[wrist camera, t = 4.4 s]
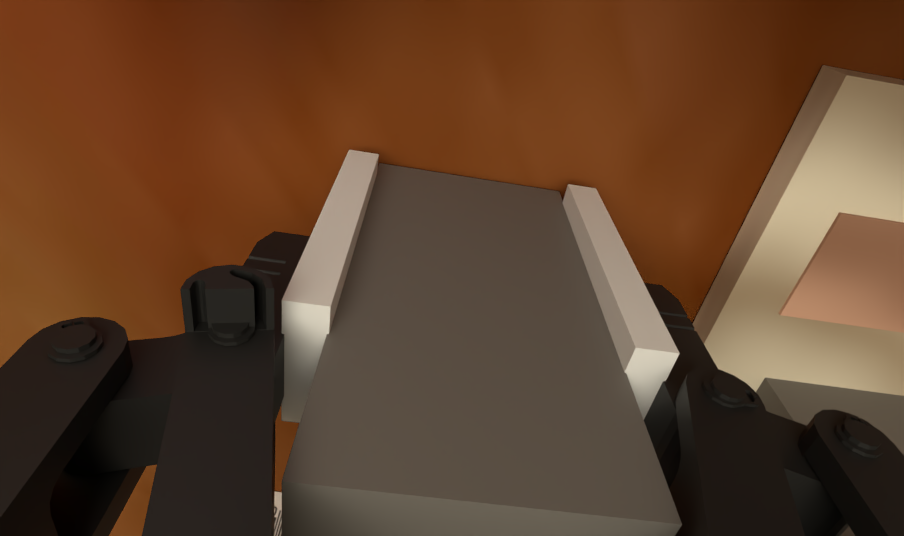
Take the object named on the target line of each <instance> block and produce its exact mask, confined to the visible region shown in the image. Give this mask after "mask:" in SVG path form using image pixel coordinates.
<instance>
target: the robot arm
mask: <svg viewBox="0 0 904 536" xmlns="http://www.w3.org/2000/svg"><path fill="white" fill-rule="evenodd" d="M378 158H379V154H374V153H368V152H361V151H355V150H349V151H348V153H347V156H346V158H345V160H344V162H343V165H342V167H341V169H340V171H339V173H338V176H337V178H336V180H335V182H334V185H333V187H332V189H331V191H330V194H329V196H328V198H327V200H326V202H325V205H324V207H323V209H322V211H321V214H320V216H319V218H318V220H317V223H316V225H315V227H314V229H313V231H312V234H311V236H303V235H296V234H289V233H282V232H275V231H274V232H273V233H271V234H269V235H268V236H266V237H265V238H263V239H261V240H260V241H258V242H257V243H256V245H255V247H254V248H253V250H252V252H251V253H250V255H249V259H247V260H246V262H245V263H244V265H243V266H238V265H225V266H215V267H211V268H208V269H205V270H202V271H199V272H197V273H196V274H194V275H193V276H191V277H190V278H188V279H187V280H186V281H185V283H184V284H183V286H182V288H181V298H182V307H183V315H184V324H185V333H183V334H180V335H176V336H171V337H164V338H155V339H144V340H132V341H128V338H127V334H126V331H125V329H124V328H123V327H122V326H120V325H119V324H118V323H116V322H115V321H111V320H108V319H104V318H100V317H80V318H75V319H70V320H65V321H61V322H58V323H56V324H53V325H51V326H49V327H46V328H44V329H42V330H41V331H39V332H38V333H36V334H35V335H34V336H32V337H31V338H30V339H28V340H27V341H26V342H25V343H24V344H23V345H22V346H21V347H20V348H19V349H18V350H17V352H16V353H15V354H14V355H13V356H12V357H11V358H10V359H9V360H8V361H7V362H6V363H5V364H4V365H3V366H2V367H1V368H0V536H109V534H110V532H111V531H112V529H113V527H114V525H115V523H116V521H117V519H118V518H119V516H120V514H121V512H122V510H123V508H124V506H125V505H126V503H127V501H128V499H129V497H130V495H131V494H132V492H133V490H134V488H135V486H136V484H137V482H138V481H139V479H140V477H141V475H142V473H143V471H144V470H145V468H146V466H150V465H156V464H157V468H156V472H155V477H154V482H153V486H152V491H151V496H150V500H149V505H148V510H147V514H146V519H145V524H144V528H143V533H142V536H274V495H275V420H276V417H277V415H278V412H279V409H280V406H281V403H282V421H289V422H297V423H300V420H301V417H302V414H303V410H304V407H305V404H306V401H307V397H308V394H309V391H310V388H311V384H312V381H313V378H314V374H315V371H316V368H317V365H318V361H319V358H320V355H321V352H322V348H323V345H324V342H325V339H326V335H327V334H329V332H330V329H331V326H332V322H333V319H334V316H335V312H336V309H337V306H338V302H339V299H340V296H341V292H342V289H343V286H344V282H345V279H346V276H347V272H348V269H349V266H350V262H351V259H352V256H353V252H354V249H355V246H356V242H357V239H358V236H359V232H360V229H361V225H362V222H363V219H364V215H365V212H366V209H367V205H368V202H369V199H370V195H371V192H372V189H373V185H374V182H375V179H376V175H377V168H378ZM563 206H564V209H565V211H566V214H567V217H568V220H569V222H570V225H571V228H572V230H573V233H574V236H575V239H576V241H577V244H578V247H579V250H580V252H581V255H582V258H583V261H584V263H585V266H586V269H587V271H588V274H589V277H590V280H591V282H592V285H593V288H594V291H595V293H596V296H597V299H598V302H599V304H600V307H601V310H602V312H603V315H604V318H605V321H606V323H607V326H608V329H609V332H610V334H611V337H612V340H613V343H614V345H615V348H616V351H617V353H618V356H619V359H620V362H621V364H622V367H623V370H624V373H626V374H627V376H628V379H629V382H630V385H631V387H632V390H633V393H634V395H635V398H636V401H637V403H638V406H639V409H640V412H641V414H642V417H643V420H644V422H645V425H646V428H647V431H648V433H649V436H650V439H651V441H652V444H653V447H654V450H655V452H656V455H657V458H658V460H659V463H660V466H661V469H662V471H663V474H664V477H665V479H666V482H667V485H668V487H669V490H670V493H671V496H672V498H673V501H674V504H675V506H676V509H677V512H678V515H679V517H680V520H681V523H682V526H681V527H680V529H679V530H678V532H677V533H676V535H675V536H841V534H842V533H843V532H844V531H845V530H846V529H847V528H848V527H850V528H851V530H852V531H853V533H854V535H855V536H904V455H903V454H902V453H901V452H900V450H899V449H898V448H897V447H896V445H895V444H894V443H893V442H892V441H891V440H890V439H889V438H888V437H887V436H886V435H885V434H884V433H883V432H881V431H880V430H878V429H877V428H875V427H874V426H872V425H871V424H870V423H869V422H867V421H865V420H864V419H862V418H858V417H857V416H855V415H852V414H850V413H846V412H842V411H839V410H835V409H833V410H821V411H820V412H818V413H817V414H815V415H814V417H813V418H812V420H811V421H810V422H809V424H808V425H804V424H801V423H798V422H795V421H792V420H790V419H787V418H784V417H781V416H778V415H776V414H773V413H770V412H768V411H766V409H765V406H764V404H763V402H762V400H761V399H760V397H759V395H758V394H757V393H756V392H755V391H754V390H753V389H752V388H751V387H750V386H749V385H748V384H747V383H745V382H744V381H742V380H740V379H739V378H737V377H736V376H734V375H732V374H729V373H727V372H724V371H722V370H719V369H718V368H717V366H716V364H715V363H714V361H713V359H712V357H711V356H710V354H709V352H708V350H707V349H706V347H705V345H704V343H703V342H702V340H701V338H700V337H699V335H698V333H697V331H694V326H693V324H692V323H691V321H690V319H689V318H687V314H686V312H685V310H684V309H683V307H682V305H681V303H680V302H679V300H678V299H677V298H676V297H674V296H673V295H672V294H671V293H670V292H669V291H668V290H667V289H666V288H664V287H663V286H662V285H655V284H648V283H644V282H643V280H642V278H641V276H640V274H639V272H638V270H637V269H636V267H635V265H634V263H633V261H632V259H631V257H630V255H629V253H628V251H627V249H626V247H625V245H624V243H623V241H622V239H621V237H620V235H619V233H618V231H617V229H616V227H615V225H614V223H613V221H612V219H611V217H610V215H609V213H608V211H607V209H606V207H605V205H604V203H603V202H602V200H601V198H600V196H599V194H598V192H597V190H596V188H590V187H584V186H578V185H571V184H568V186H567V189H566V193H565V196H564V199H563Z"/></svg>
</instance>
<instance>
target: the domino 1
mask: <svg viewBox="0 0 904 536" xmlns="http://www.w3.org/2000/svg"><path fill="white" fill-rule="evenodd" d="M681 526H682V523H681V520H680V517H679V515H678V512H677V509H676V506H675V504H674V501H673V498H672V496H671V493H670V490H669V487H668V485H667V482H666V479H665V477H664V474H663V471H662V469H661V466H660V463H659V460H658V458H657V455H656V452H655V450H654V447H653V444H652V441H651V439H650V436H649V433H648V431H647V428H646V425H645V422H644V420H643V417H642V414H641V412H640V409H639V406H638V403H637V401H636V398H635V395H634V393H633V390H632V387H631V385H630V382H629V379H628V376H627V374H626V373H624V370H623V367H622V364H621V362H620V359H619V356H618V353H617V351H616V348H615V345H614V343H613V340H612V337H611V334H610V332H609V329H608V326H607V323H606V321H605V318H604V315H603V312H602V310H601V307H600V304H599V302H598V299H597V296H596V293H595V291H594V288H593V285H592V282H591V280H590V277H589V274H588V271H587V269H586V266H585V263H584V261H583V258H582V255H581V252H580V250H579V247H578V244H577V241H576V239H575V236H574V233H573V230H572V228H571V225H570V222H569V220H568V217H567V214H566V211H565V209H564V206H563V200H562V198H561V195H560V192H559V191H554V190H548V189H541V188H535V187H528V186H522V185H516V184H509V183H503V182H497V181H490V180H484V179H477V178H471V177H465V176H458V175H452V174H445V173H439V172H433V171H426V170H420V169H413V168H407V167H401V166H394V165H388V164H382V163H379V166H378V169H377V175H376V179H375V182H374V185H373V189H372V192H371V195H370V199H369V202H368V205H367V209H366V212H365V215H364V219H363V222H362V225H361V229H360V232H359V236H358V239H357V242H356V246H355V249H354V252H353V256H352V259H351V262H350V266H349V269H348V272H347V276H346V279H345V282H344V286H343V289H342V292H341V296H340V299H339V302H338V306H337V309H336V312H335V316H334V319H333V322H332V326H331V329H330V332H329V334H327V335H326V339H325V342H324V345H323V348H322V352H321V355H320V358H319V361H318V365H317V368H316V371H315V374H314V378H313V381H312V384H311V388H310V391H309V394H308V397H307V401H306V404H305V407H304V410H303V414H302V417H301V420H300V423H299V427H298V430H297V433H296V436H295V440H294V443H293V446H292V449H291V453H290V456H289V459H288V463H287V466H286V469H285V472H284V476H283V479H282V536H675V535H676V533H677V532H678V530H679V529H680V527H681Z"/></svg>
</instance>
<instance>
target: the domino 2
mask: <svg viewBox="0 0 904 536" xmlns="http://www.w3.org/2000/svg"><path fill="white" fill-rule="evenodd" d="M756 393H757V394H758V395H759V397H760V399H761V400H762V402H763V404H764V406H765V409H766V411H768V412H770V413H773V414H776V415H778V416H781V417H784V418H787V419H790V420H792V421H795V422H798V423H801V424H804V425H808V424H809V422H810V421H811V420H812V418H813V417H814V415H815V414H817V413H818V412H820V411H821V410H833V409H835V410H839V411H842V412H846V413H850V414H852V415H855V416H857V417H858V418H862V419H864V420H865V421H867V422H869V423H870V424H871V425H872V426H874V427H875V428H877V429H878V430H880V431H881V432H883V433H884V434H885V435H886V436H887V437H888V438H889V439H890V440H891V441H892V442H893V443H894V444H895V445H896V447H897V448H898V449H899V450H900V452H901V453H902V454H903V455H904V396H901V395H893V394H886V393H878V392H871V391H863V390H856V389H848V388H841V387H833V386H826V385H818V384H811V383H803V382H796V381H788V380H780V379H773V378H765V379H764V380H763V382H762V383H761V385H760V386H759V388H758V390H757V391H756ZM841 536H855V535H854V533H853V531H852V530H851V528H850V527H848V528H847V529H846V530H845V531H844V532H843V533H842V534H841Z"/></svg>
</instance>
